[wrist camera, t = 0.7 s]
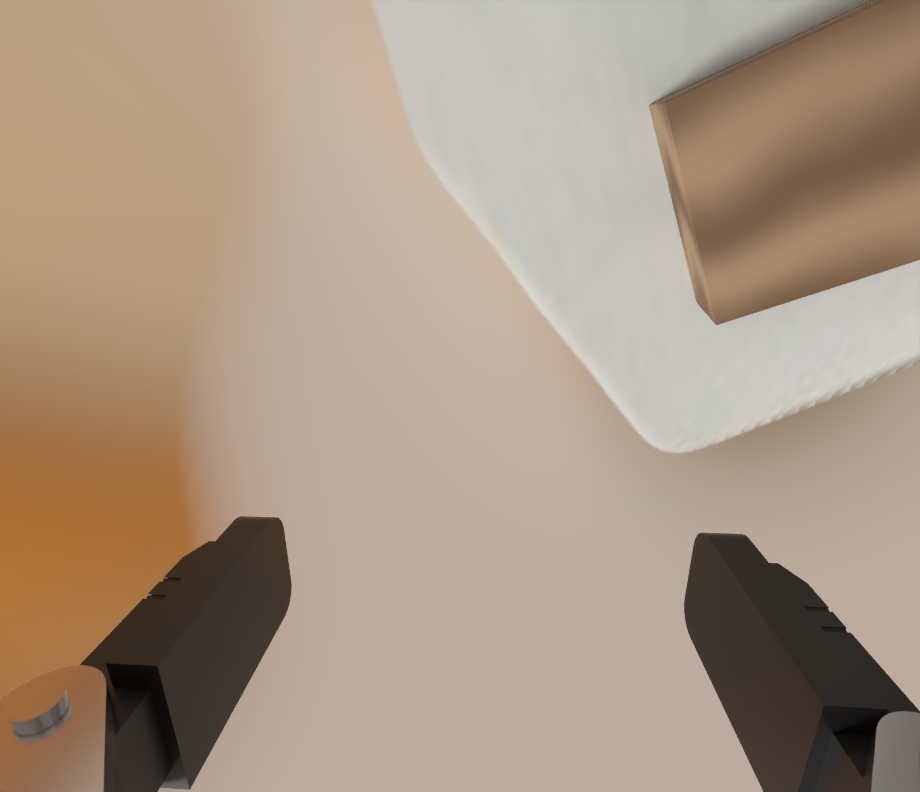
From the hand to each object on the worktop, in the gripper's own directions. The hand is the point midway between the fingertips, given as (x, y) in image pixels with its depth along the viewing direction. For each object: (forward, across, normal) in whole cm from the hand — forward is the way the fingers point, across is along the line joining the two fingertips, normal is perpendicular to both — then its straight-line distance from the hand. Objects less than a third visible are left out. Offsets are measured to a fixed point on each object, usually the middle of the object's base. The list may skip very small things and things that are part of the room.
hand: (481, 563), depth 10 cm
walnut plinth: (+23, -16, -9) cm, 30 cm away
